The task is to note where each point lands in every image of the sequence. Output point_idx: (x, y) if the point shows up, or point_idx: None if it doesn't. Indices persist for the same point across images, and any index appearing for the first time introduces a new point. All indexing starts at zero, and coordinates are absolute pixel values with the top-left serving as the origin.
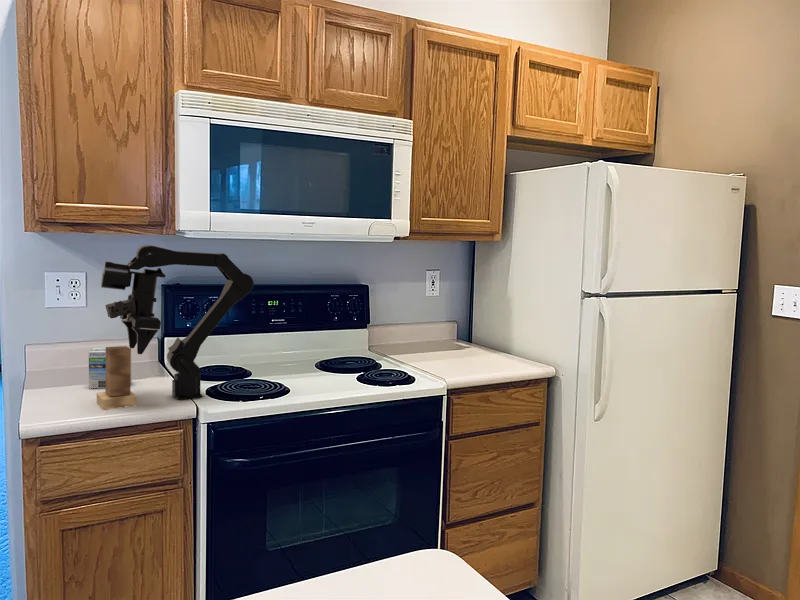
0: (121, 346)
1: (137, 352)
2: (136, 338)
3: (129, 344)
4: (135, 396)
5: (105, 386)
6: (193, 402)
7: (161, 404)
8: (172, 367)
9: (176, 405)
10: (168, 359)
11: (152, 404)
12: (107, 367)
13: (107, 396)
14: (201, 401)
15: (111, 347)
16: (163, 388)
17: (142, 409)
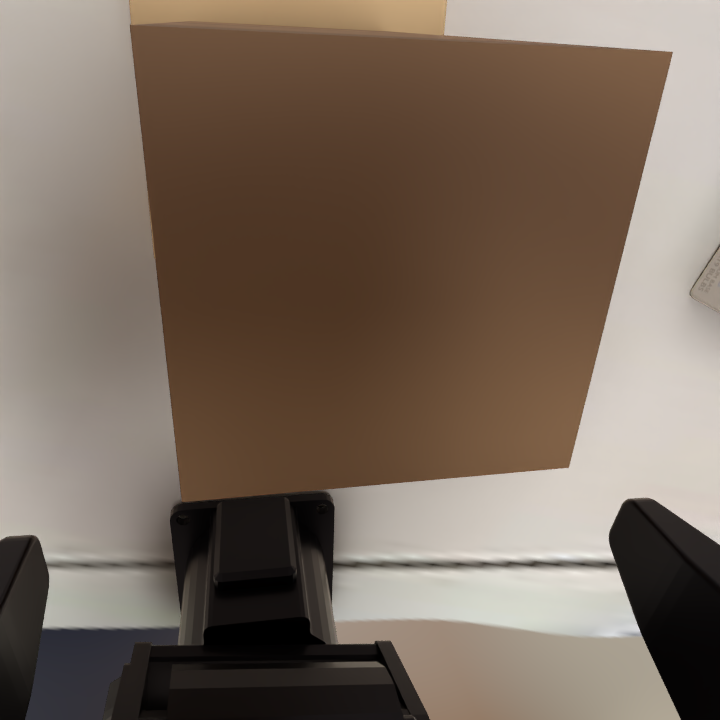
0: (568, 392)
1: (14, 549)
2: (703, 705)
3: (672, 532)
4: (153, 249)
5: (402, 32)
6: (85, 559)
7: (116, 391)
8: (171, 673)
9: (47, 466)
10: (292, 711)
11: (143, 340)
12: (350, 31)
13: (246, 13)
14: (90, 597)
15: (547, 176)
16: (524, 477)
17: (18, 246)
